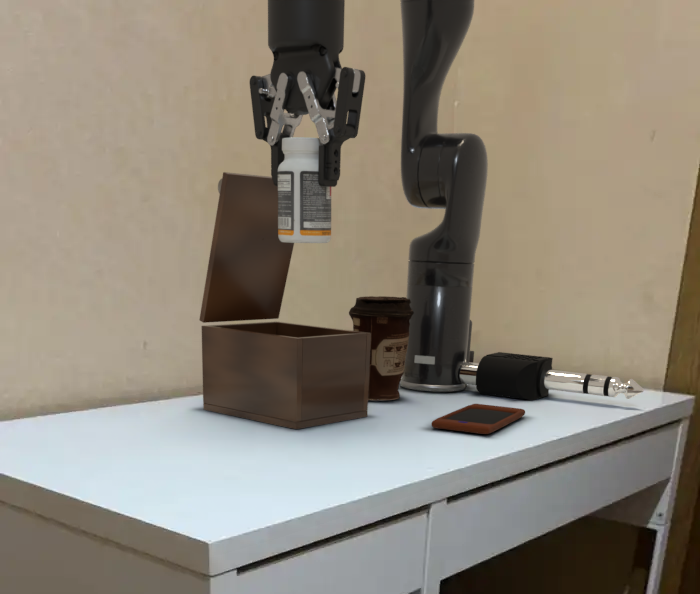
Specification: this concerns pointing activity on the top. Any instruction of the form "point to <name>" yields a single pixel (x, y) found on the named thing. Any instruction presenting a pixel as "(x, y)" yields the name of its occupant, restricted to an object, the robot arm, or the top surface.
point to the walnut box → (285, 373)
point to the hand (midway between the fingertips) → (304, 185)
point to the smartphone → (478, 418)
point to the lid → (246, 253)
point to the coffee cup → (384, 341)
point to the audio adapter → (537, 378)
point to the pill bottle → (302, 194)
